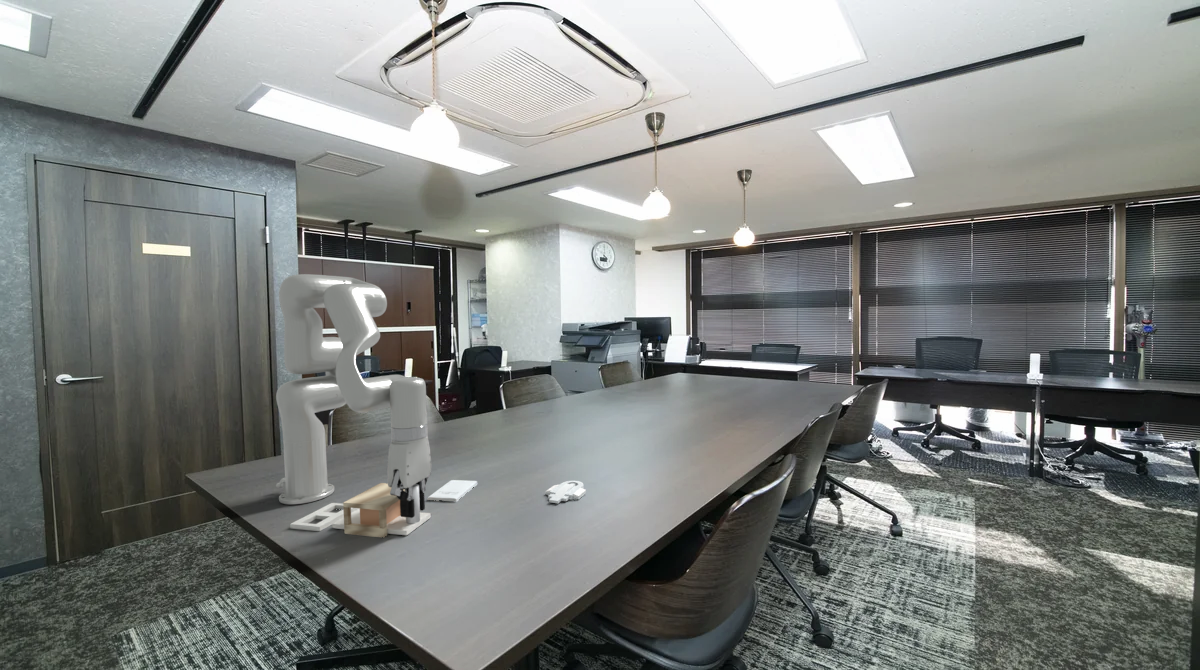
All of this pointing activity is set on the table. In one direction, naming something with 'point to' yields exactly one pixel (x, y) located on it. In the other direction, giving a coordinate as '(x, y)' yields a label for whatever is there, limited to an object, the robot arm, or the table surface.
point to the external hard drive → (452, 490)
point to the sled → (390, 517)
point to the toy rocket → (566, 491)
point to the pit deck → (321, 518)
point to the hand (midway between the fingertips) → (412, 512)
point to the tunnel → (373, 500)
